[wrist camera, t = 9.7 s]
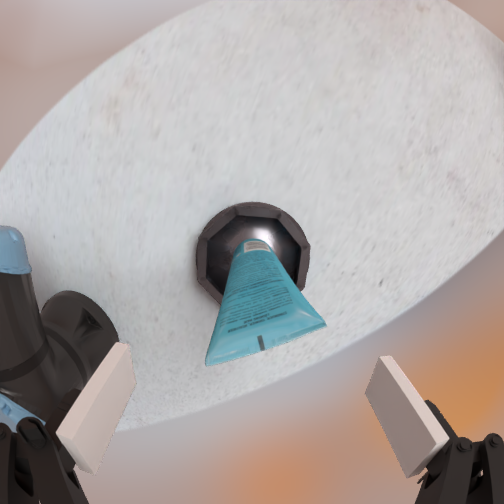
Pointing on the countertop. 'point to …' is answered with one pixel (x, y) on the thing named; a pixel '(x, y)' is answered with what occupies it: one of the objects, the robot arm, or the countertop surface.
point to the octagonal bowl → (247, 227)
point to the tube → (259, 306)
